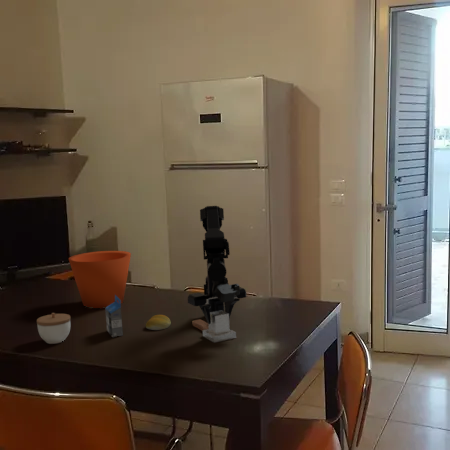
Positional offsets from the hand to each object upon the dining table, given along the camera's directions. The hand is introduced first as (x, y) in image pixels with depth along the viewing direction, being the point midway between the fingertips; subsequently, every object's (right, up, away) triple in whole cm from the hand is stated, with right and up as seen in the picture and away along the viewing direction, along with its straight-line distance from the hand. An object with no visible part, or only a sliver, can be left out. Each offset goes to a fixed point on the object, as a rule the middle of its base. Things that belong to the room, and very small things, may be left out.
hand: (218, 321), depth 189 cm
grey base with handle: (-3, -4, +6) cm, 8 cm away
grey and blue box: (-35, -6, +10) cm, 37 cm away
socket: (0, -3, 0) cm, 3 cm away
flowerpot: (-48, -1, +52) cm, 71 cm away
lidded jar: (-54, -7, +4) cm, 55 cm away
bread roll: (-21, -5, +16) cm, 27 cm away
